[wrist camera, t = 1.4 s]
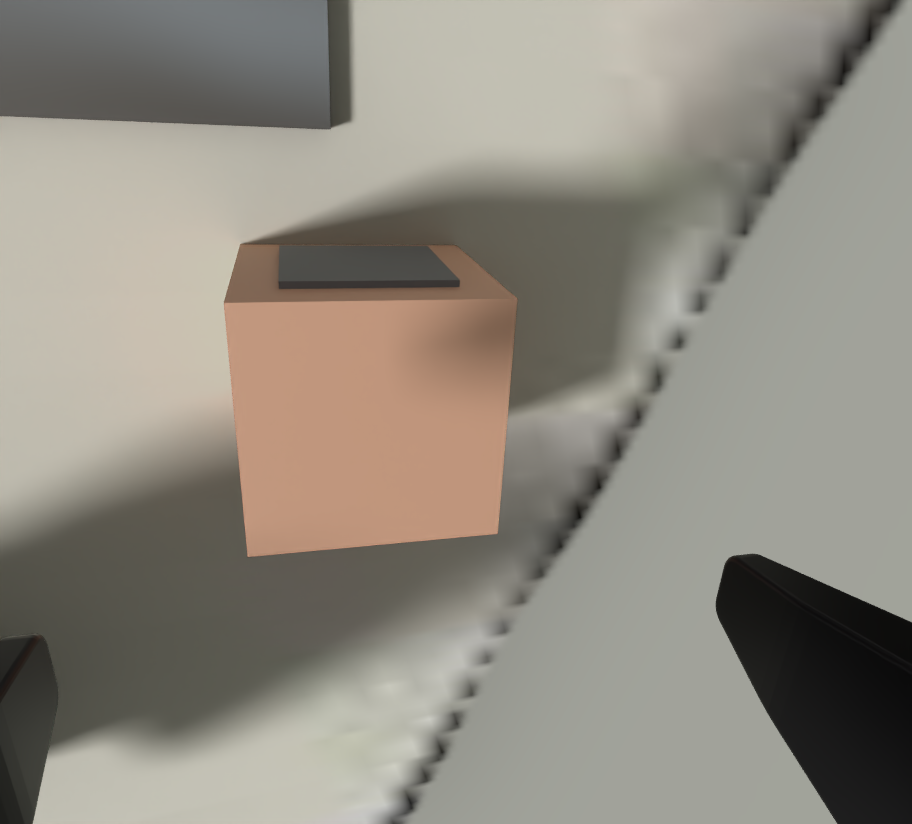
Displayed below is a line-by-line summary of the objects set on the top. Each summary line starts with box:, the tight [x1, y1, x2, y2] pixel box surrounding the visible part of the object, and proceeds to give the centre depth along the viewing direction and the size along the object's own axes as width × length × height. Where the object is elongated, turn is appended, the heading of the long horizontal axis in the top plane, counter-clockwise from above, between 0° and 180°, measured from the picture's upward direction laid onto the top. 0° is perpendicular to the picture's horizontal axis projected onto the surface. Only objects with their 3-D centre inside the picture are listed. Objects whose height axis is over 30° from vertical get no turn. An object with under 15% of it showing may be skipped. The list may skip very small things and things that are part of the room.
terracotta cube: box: [224, 244, 518, 557], centre depth 16 cm, size 6×6×6 cm
